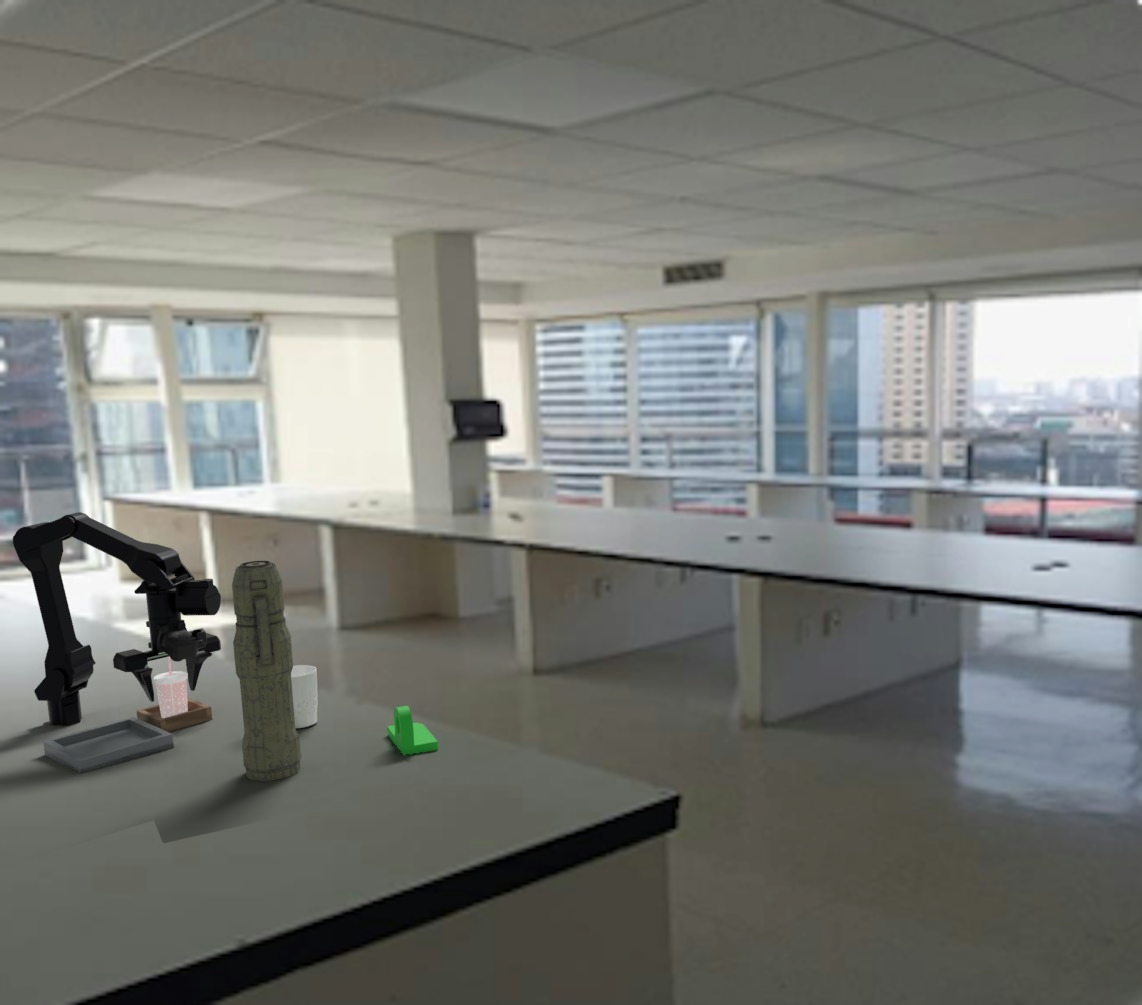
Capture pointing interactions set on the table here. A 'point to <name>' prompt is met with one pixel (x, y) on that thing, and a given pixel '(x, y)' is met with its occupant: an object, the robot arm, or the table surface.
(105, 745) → the tray
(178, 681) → the beverage cup
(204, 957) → the table surface
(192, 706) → the square frame
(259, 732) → the thermos
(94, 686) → the table surface
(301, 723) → the white cup
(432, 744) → the mechanical part
